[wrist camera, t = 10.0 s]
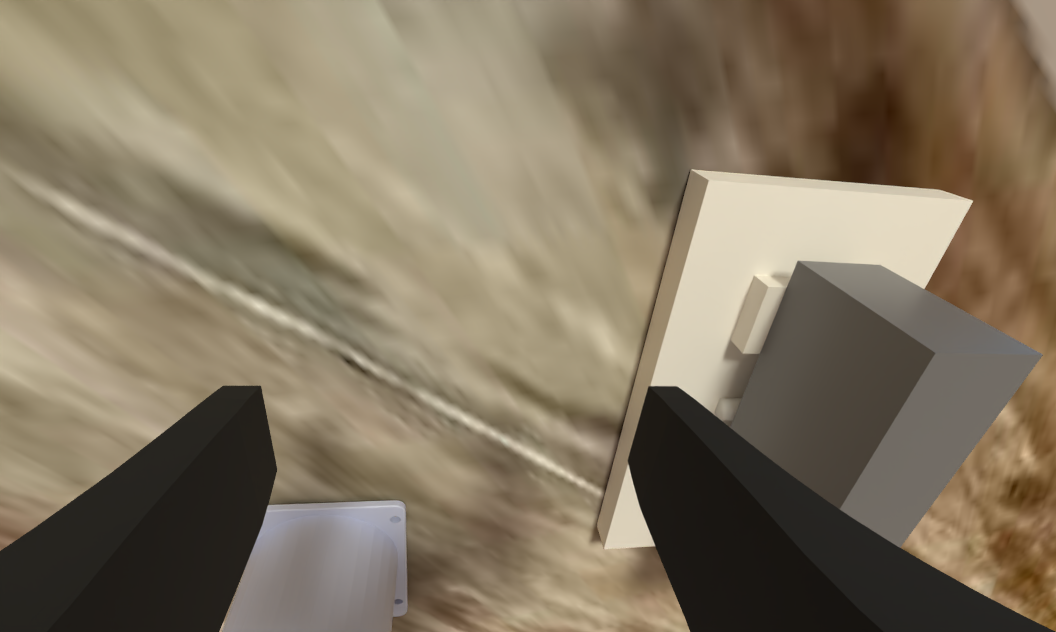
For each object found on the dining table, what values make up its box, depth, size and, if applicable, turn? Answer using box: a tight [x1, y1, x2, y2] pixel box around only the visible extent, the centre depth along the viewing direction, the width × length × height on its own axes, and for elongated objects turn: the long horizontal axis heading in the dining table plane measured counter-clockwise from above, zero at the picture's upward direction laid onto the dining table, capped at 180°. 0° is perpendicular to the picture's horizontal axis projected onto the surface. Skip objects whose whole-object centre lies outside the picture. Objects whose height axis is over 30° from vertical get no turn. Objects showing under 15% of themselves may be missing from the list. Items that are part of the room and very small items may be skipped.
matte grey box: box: [730, 261, 1043, 548], centre depth 20 cm, size 15×4×6 cm, turn 174°
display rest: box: [597, 170, 973, 549], centre depth 23 cm, size 20×11×2 cm, turn 174°
